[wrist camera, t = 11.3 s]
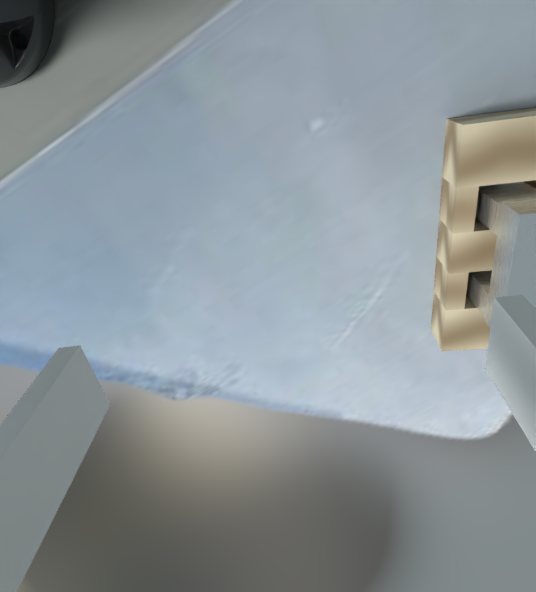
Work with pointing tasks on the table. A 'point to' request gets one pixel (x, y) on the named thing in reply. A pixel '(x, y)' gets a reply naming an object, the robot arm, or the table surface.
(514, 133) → the wooden block with holes
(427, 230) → the table surface
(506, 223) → the grey u-shaped block
